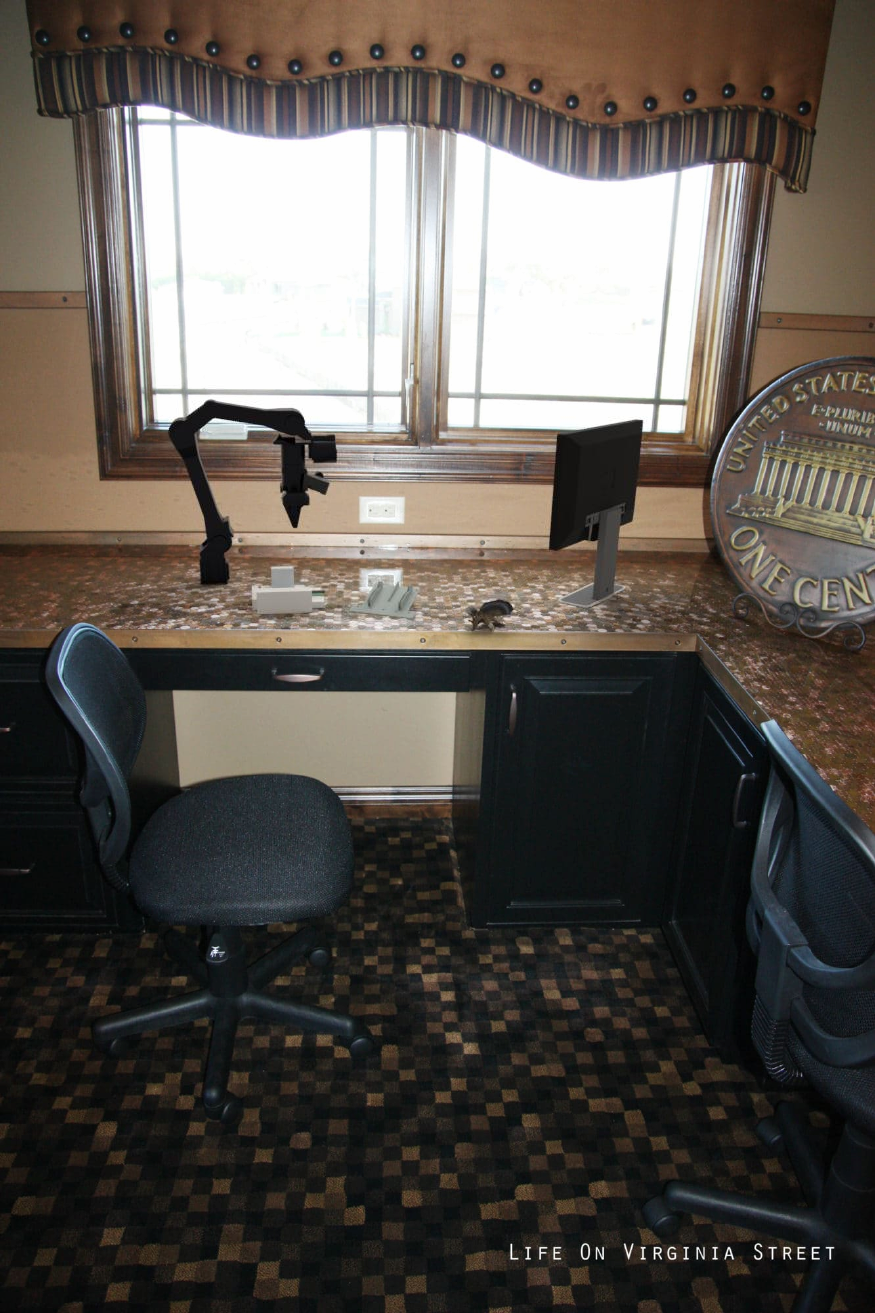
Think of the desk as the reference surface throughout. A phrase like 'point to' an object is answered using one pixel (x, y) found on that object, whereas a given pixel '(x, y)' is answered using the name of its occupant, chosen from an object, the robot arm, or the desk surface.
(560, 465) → the computer monitor
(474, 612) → the animal figurine
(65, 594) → the desk surface
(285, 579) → the gauge plunger
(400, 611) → the metal bracket
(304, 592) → the gauge housing
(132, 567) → the desk surface
